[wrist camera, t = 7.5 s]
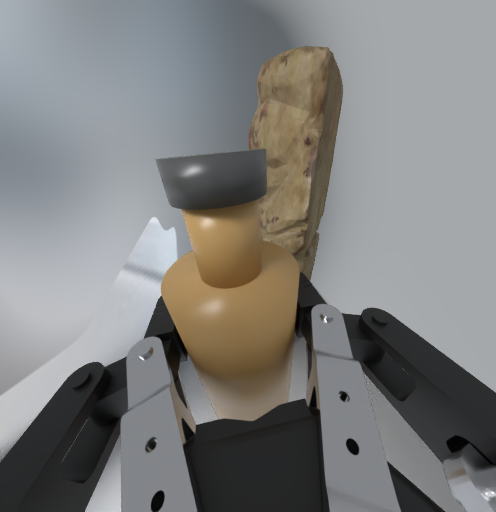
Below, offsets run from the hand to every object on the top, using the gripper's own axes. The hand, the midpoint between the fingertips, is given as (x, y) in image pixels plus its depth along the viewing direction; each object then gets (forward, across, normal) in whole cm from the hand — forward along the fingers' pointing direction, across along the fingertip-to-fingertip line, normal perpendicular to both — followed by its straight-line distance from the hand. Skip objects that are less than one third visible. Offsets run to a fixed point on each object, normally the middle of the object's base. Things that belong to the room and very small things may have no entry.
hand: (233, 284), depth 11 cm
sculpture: (+11, -7, +18) cm, 22 cm away
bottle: (-3, 0, +8) cm, 8 cm away
